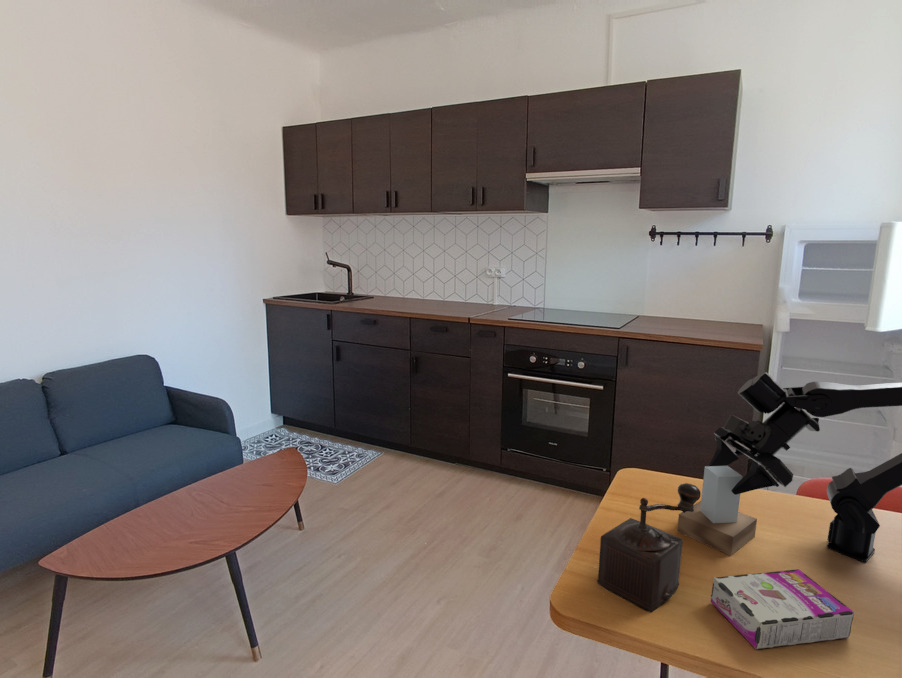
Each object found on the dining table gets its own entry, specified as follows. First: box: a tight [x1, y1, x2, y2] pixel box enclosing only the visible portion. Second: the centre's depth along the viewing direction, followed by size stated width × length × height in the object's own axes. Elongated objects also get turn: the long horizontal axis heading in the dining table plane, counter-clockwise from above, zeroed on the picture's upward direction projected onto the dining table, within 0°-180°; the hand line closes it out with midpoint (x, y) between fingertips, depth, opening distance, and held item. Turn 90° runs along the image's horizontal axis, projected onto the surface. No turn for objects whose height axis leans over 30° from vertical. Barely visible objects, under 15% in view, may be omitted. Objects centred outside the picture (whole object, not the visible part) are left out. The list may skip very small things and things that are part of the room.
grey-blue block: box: [700, 465, 743, 523], centre depth 111 cm, size 5×5×10 cm
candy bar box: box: [710, 568, 855, 650], centre depth 87 cm, size 11×5×16 cm
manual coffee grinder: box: [597, 482, 702, 613], centre depth 95 cm, size 16×11×18 cm
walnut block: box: [676, 500, 758, 556], centre depth 112 cm, size 11×11×4 cm
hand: (719, 482), depth 110 cm, fingers open, 9 cm apart
